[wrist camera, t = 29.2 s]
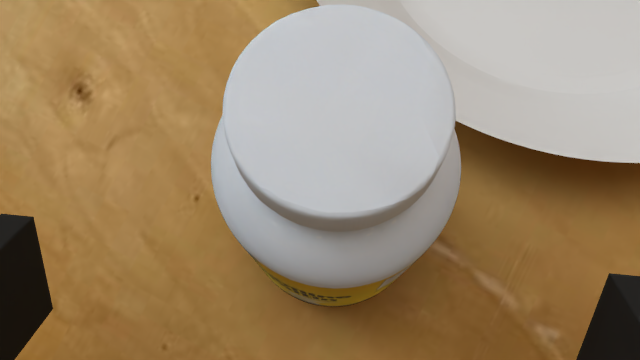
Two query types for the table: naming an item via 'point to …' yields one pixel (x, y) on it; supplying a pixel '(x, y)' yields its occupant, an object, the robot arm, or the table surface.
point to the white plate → (537, 69)
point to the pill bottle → (337, 152)
